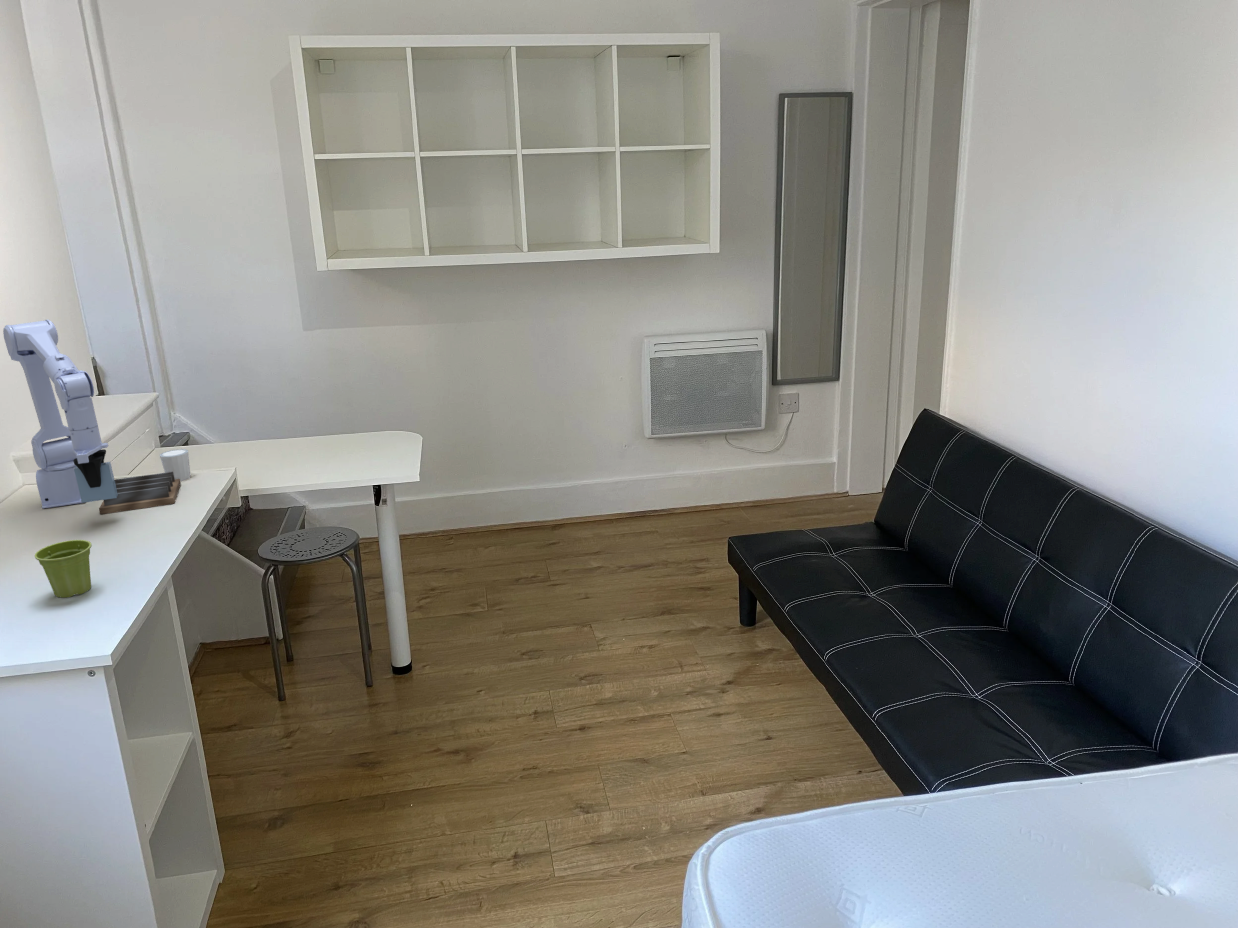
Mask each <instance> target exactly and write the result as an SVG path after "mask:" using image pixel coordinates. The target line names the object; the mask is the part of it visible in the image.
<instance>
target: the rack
mask: <svg viewBox="0 0 1238 928" xmlns="http://www.w3.org/2000/svg"><path fill="white" fill-rule="evenodd" d="M114 480H115V484H116V489H117V493H118V496H117V498H113V499H106V500H102V502H101V504H100V506H99V508H98V509H99V510H98V511H99V515H105V514H113V513H118V512H126V511H127V512H128V511H133V510H134V511H135V510H141V509H148V508H154V507H161V506H169V505H173V504H174V505H175V502H176V500H177V497H178V494H179V491H180V487H181V485H182V483H181V482H182V481H180V479H174V474H173V472H166V473H165V472H160V473H154V474H153V473H152V474H145V475H137V476H130V477H123V478H116V479H115V478H114Z"/></svg>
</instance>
